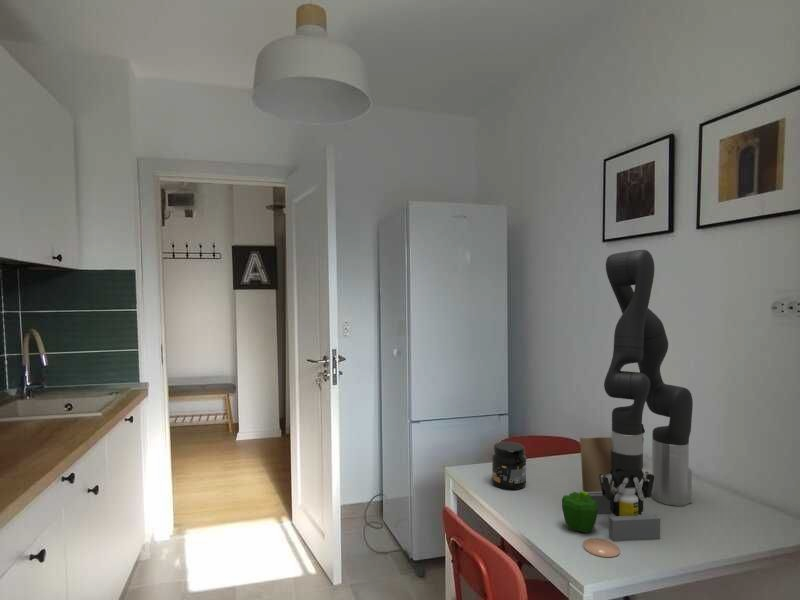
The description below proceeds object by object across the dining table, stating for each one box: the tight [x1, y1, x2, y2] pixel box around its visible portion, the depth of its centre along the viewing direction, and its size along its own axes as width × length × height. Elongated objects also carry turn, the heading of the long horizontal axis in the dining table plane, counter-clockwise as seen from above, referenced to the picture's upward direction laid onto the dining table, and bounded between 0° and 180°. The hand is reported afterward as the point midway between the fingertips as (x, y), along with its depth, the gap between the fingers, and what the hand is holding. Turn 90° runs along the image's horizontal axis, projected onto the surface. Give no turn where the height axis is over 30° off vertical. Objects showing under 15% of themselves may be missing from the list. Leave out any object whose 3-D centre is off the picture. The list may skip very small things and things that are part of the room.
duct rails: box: [587, 492, 661, 542], centre depth 126 cm, size 12×16×5 cm
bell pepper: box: [561, 490, 598, 533], centre depth 124 cm, size 8×8×10 cm
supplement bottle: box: [614, 487, 639, 517], centre depth 125 cm, size 5×5×10 cm
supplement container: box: [491, 441, 527, 491], centre depth 152 cm, size 10×10×12 cm
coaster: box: [582, 537, 621, 559], centre depth 114 cm, size 8×8×1 cm
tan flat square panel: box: [579, 436, 618, 493], centre depth 134 cm, size 12×14×1 cm
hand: (626, 513), depth 125 cm, fingers closed on supplement bottle, 5 cm apart
